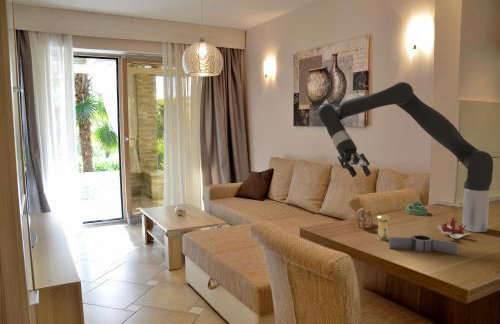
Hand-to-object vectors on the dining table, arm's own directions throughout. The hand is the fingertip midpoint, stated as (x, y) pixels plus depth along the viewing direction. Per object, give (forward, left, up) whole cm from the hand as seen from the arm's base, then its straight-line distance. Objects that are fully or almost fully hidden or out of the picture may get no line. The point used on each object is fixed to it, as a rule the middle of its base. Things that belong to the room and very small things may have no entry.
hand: (362, 175), depth 159 cm
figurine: (-15, +32, -24) cm, 43 cm away
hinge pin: (+3, +10, -24) cm, 26 cm away
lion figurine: (-11, -2, -24) cm, 27 cm away
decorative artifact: (-49, +11, -24) cm, 56 cm away
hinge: (+8, +25, -24) cm, 36 cm away
